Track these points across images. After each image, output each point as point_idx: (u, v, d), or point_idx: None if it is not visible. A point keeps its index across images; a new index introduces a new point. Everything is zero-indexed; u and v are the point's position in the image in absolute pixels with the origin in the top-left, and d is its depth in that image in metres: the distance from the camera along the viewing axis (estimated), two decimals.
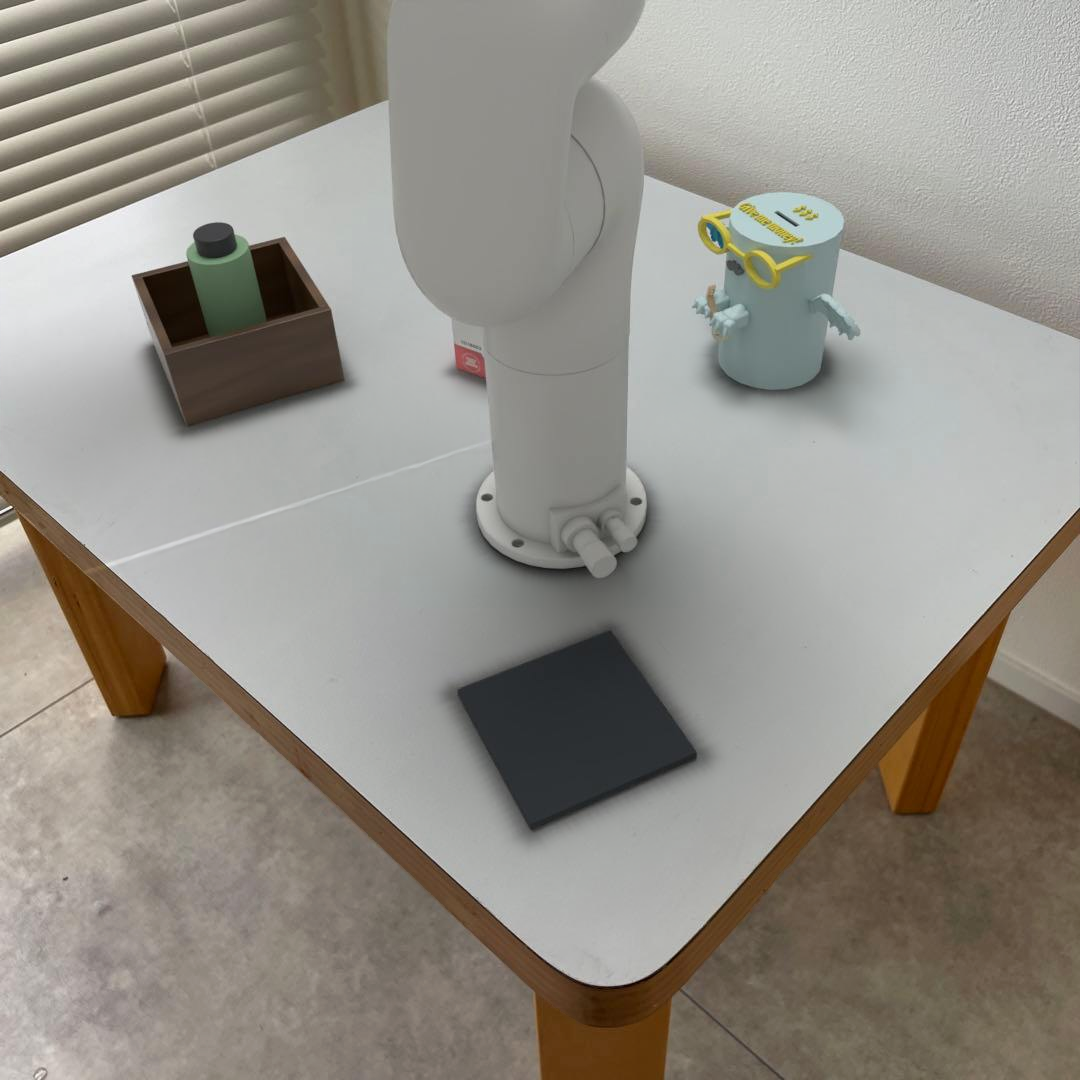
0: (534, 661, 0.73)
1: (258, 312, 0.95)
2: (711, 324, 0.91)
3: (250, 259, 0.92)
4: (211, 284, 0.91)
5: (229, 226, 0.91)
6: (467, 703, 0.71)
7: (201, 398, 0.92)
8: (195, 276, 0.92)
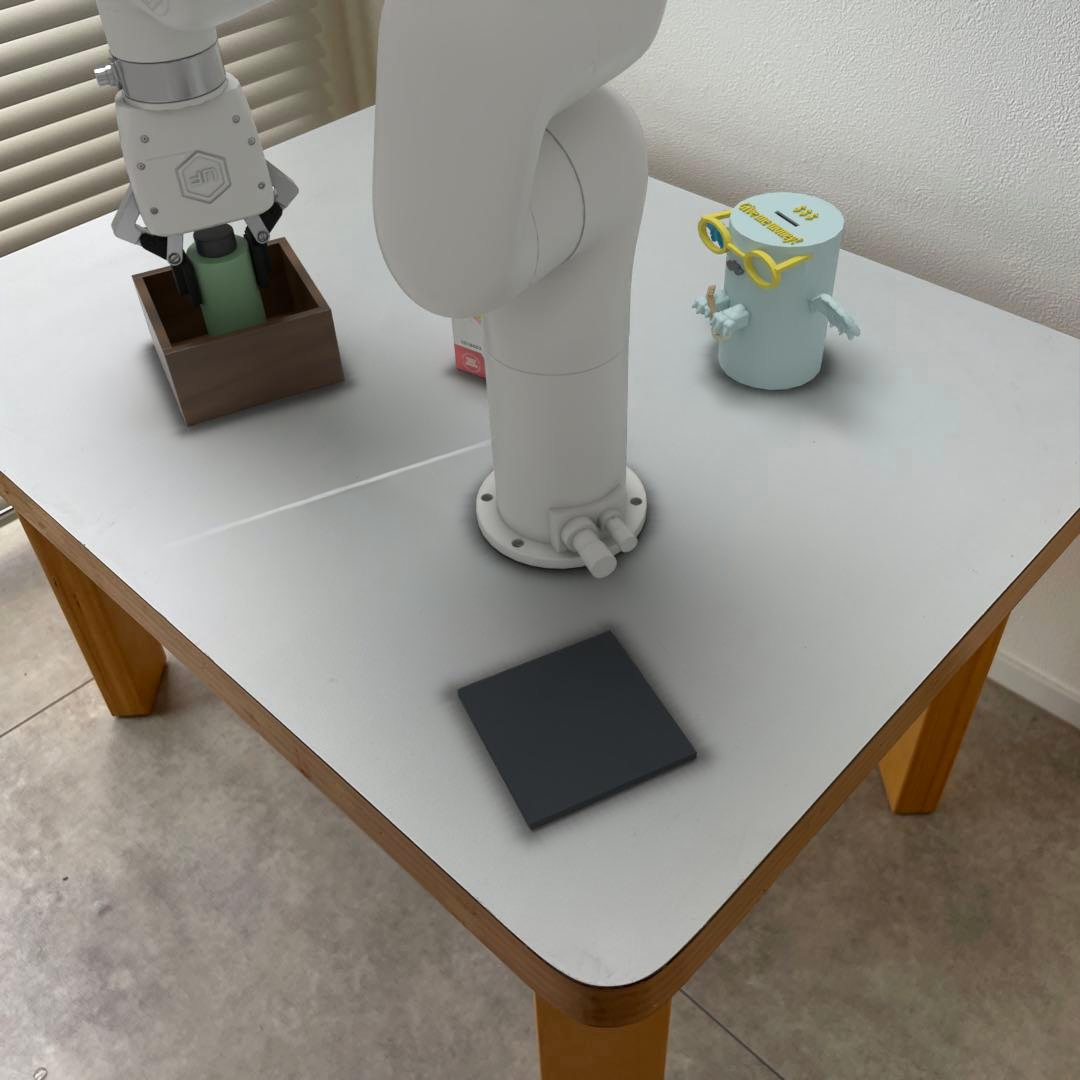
0: (534, 661, 0.73)
1: (258, 312, 0.95)
2: (711, 324, 0.91)
3: (250, 259, 0.92)
4: (211, 284, 0.91)
5: (229, 226, 0.91)
6: (467, 703, 0.71)
7: (201, 398, 0.92)
8: (195, 276, 0.92)
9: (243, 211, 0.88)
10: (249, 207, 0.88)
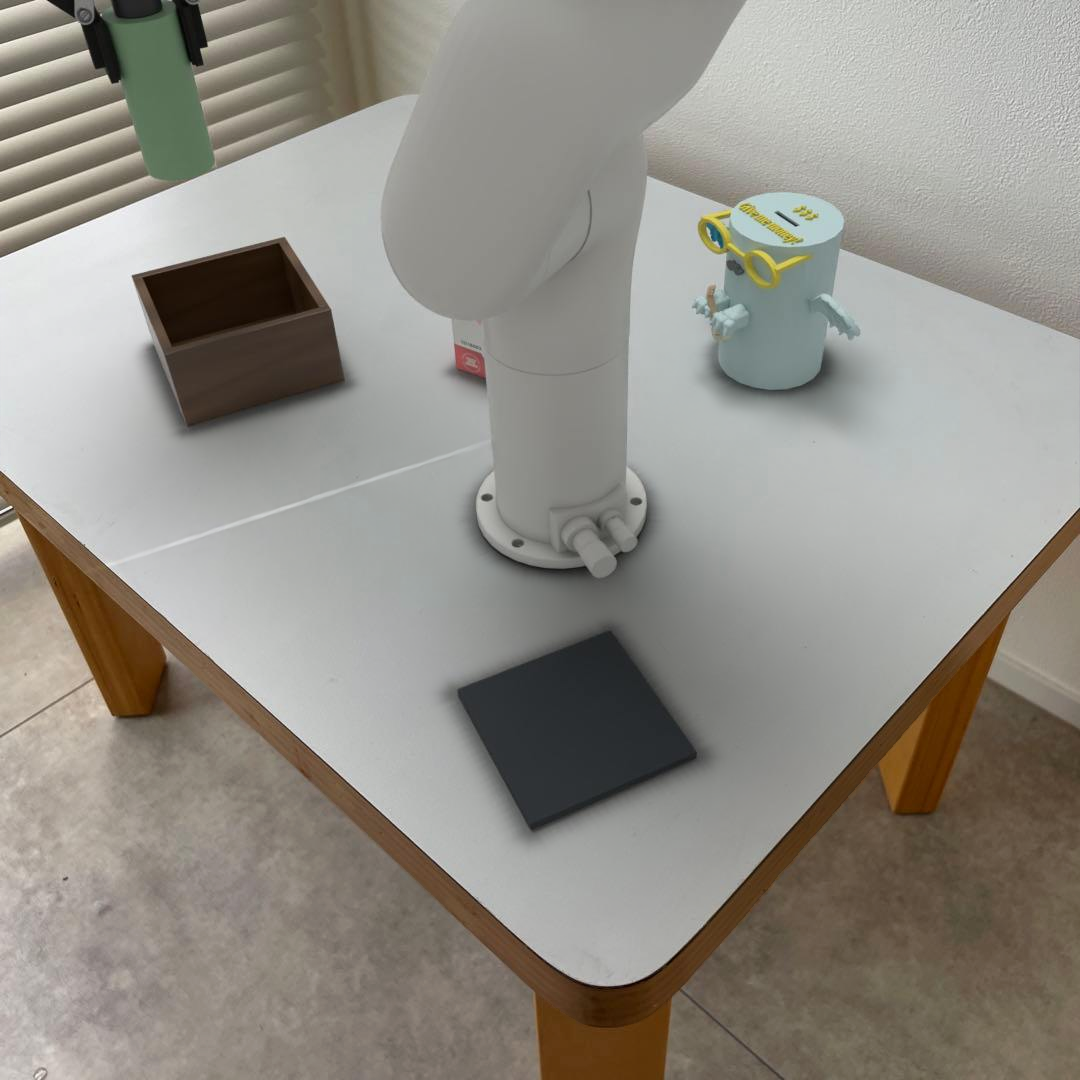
0: (534, 661, 0.73)
1: (191, 96, 0.80)
2: (711, 324, 0.91)
3: (178, 25, 0.77)
4: (131, 52, 0.76)
5: None
6: (467, 703, 0.71)
7: (201, 398, 0.92)
8: (112, 43, 0.77)
9: None
10: None
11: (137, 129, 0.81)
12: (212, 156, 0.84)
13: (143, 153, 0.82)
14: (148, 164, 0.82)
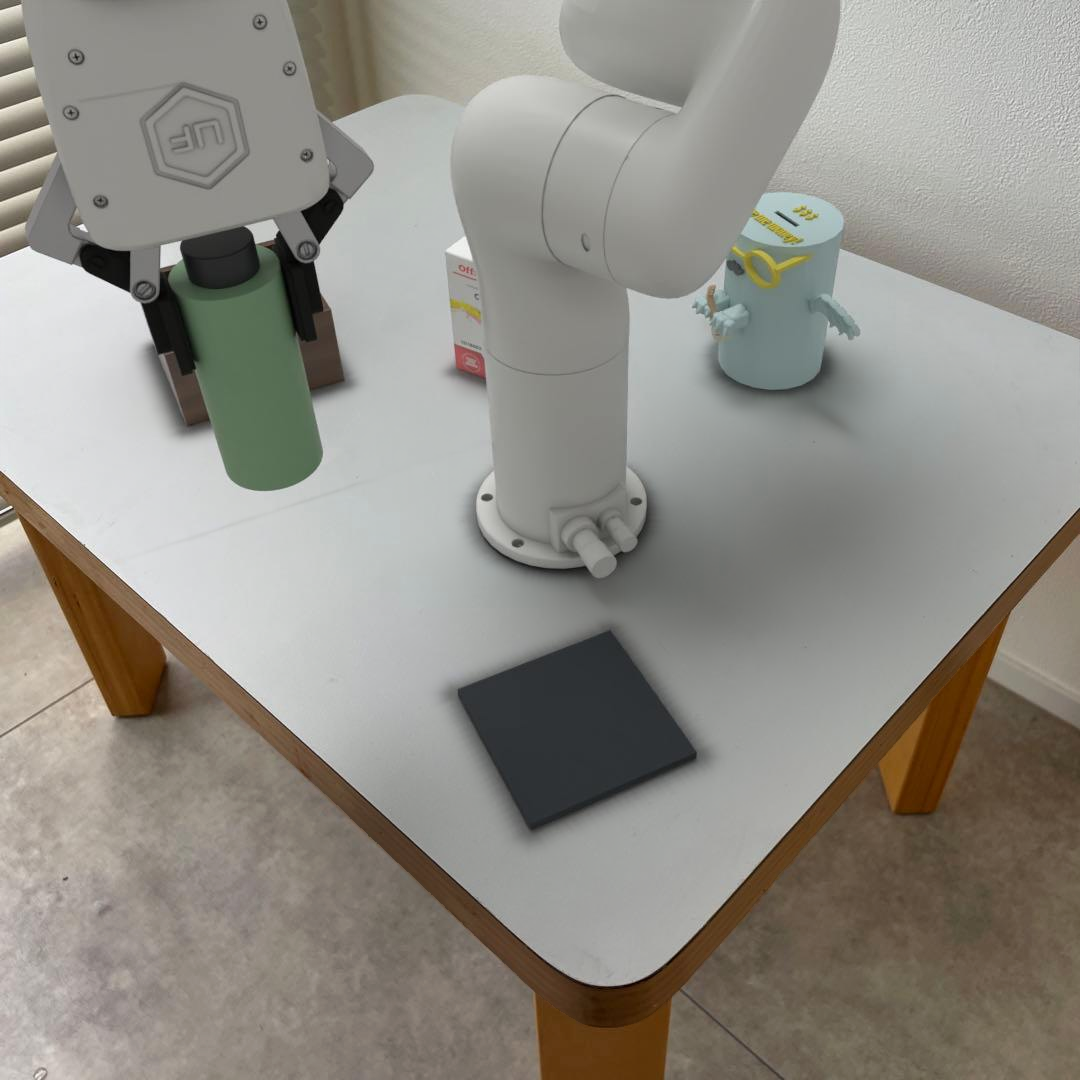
0: (534, 661, 0.73)
1: (297, 382, 0.54)
2: (711, 324, 0.91)
3: (283, 290, 0.51)
4: (212, 337, 0.50)
5: (246, 231, 0.50)
6: (467, 703, 0.71)
7: (201, 398, 0.92)
8: (184, 321, 0.51)
9: (272, 204, 0.47)
10: (283, 197, 0.47)
11: (215, 425, 0.55)
12: (320, 449, 0.58)
13: (222, 453, 0.56)
14: (229, 467, 0.56)
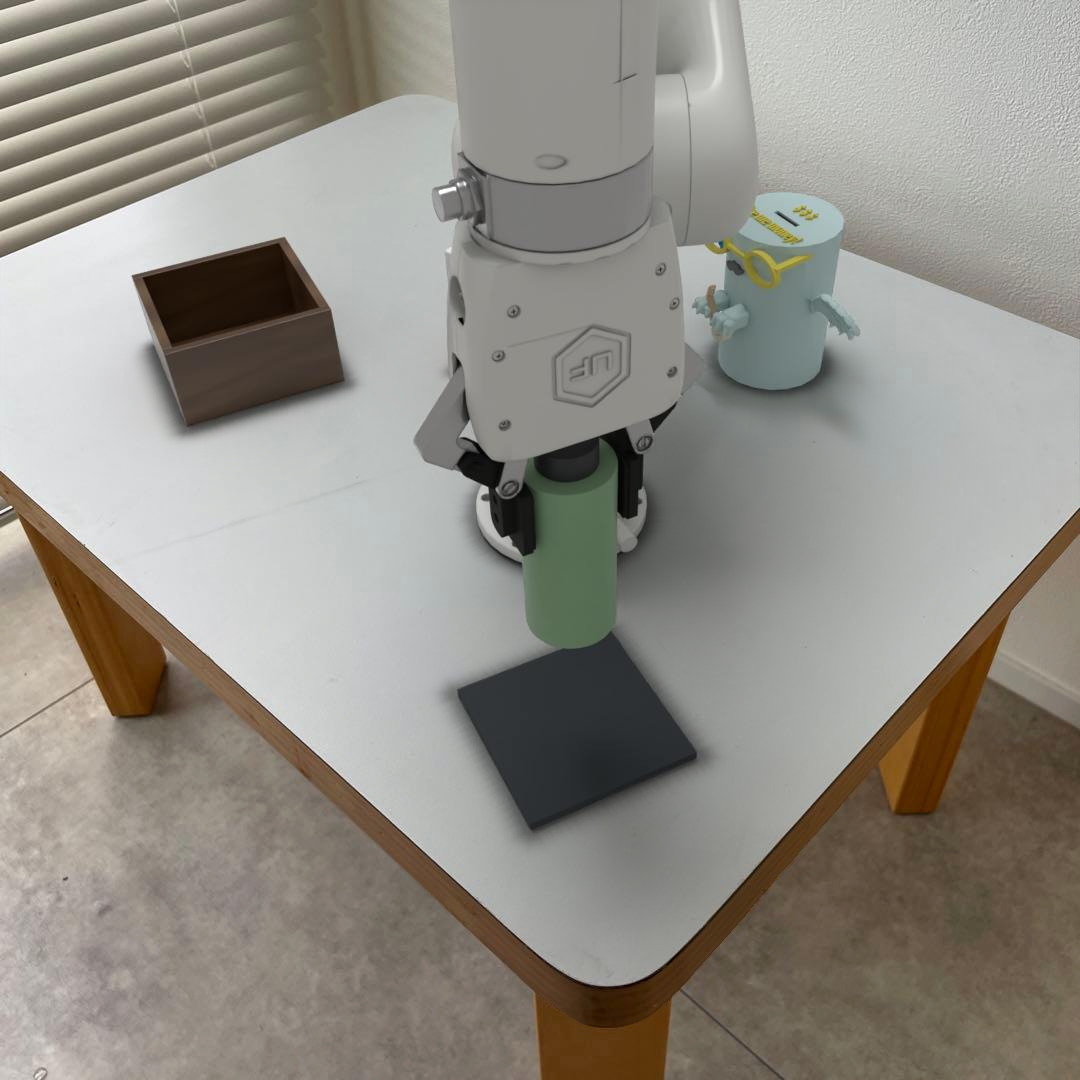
0: (534, 661, 0.73)
1: (615, 554, 0.59)
2: (711, 324, 0.91)
3: None
4: (560, 524, 0.55)
5: None
6: (467, 703, 0.71)
7: (201, 398, 0.92)
8: None
9: (637, 414, 0.52)
10: (647, 407, 0.52)
11: (535, 593, 0.59)
12: None
13: (534, 615, 0.61)
14: (539, 627, 0.61)
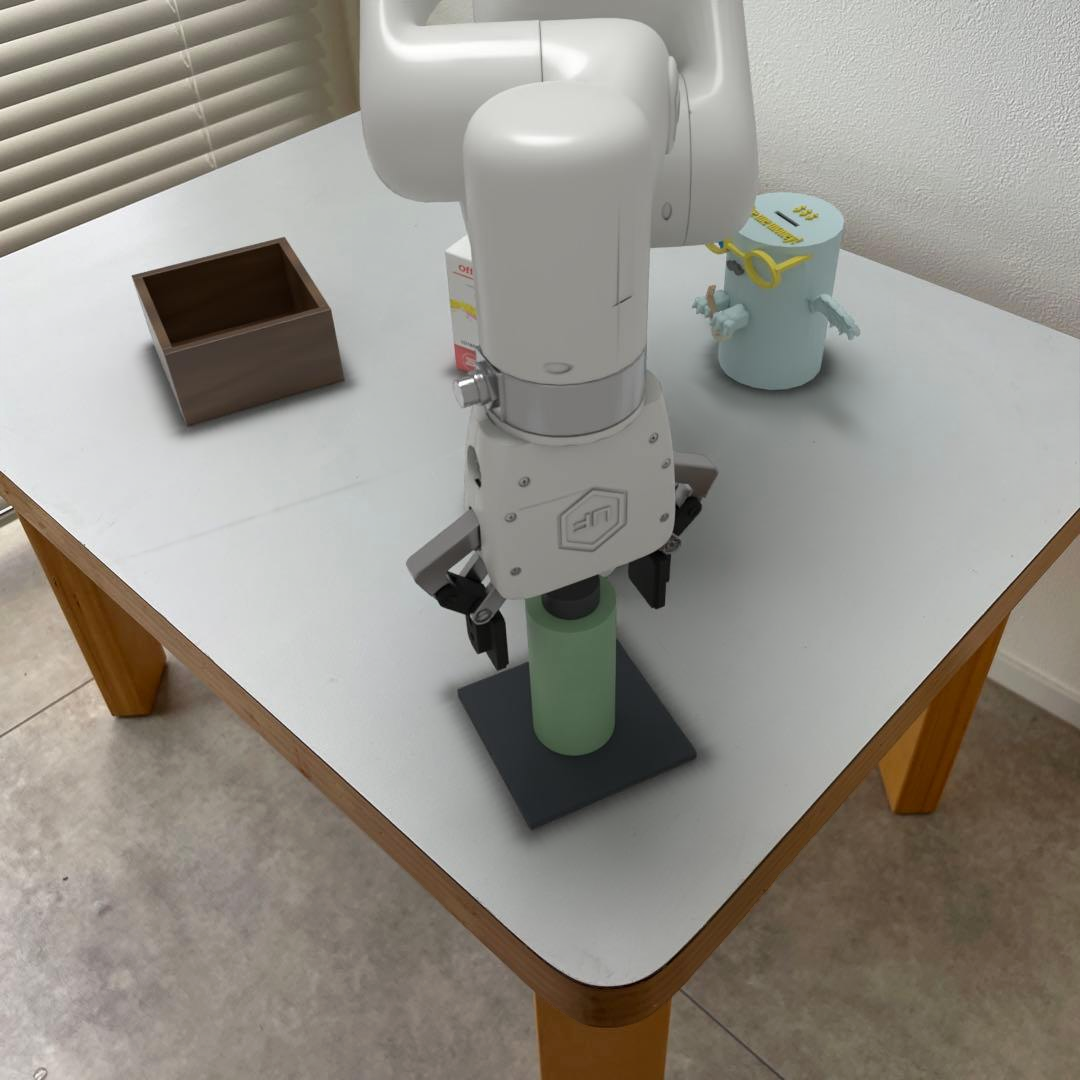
0: None
1: (613, 675, 0.65)
2: (711, 324, 0.91)
3: None
4: (565, 655, 0.61)
5: None
6: (467, 703, 0.71)
7: (201, 398, 0.92)
8: (539, 641, 0.62)
9: (633, 554, 0.58)
10: (642, 548, 0.58)
11: (541, 709, 0.66)
12: None
13: (541, 726, 0.67)
14: (545, 737, 0.68)
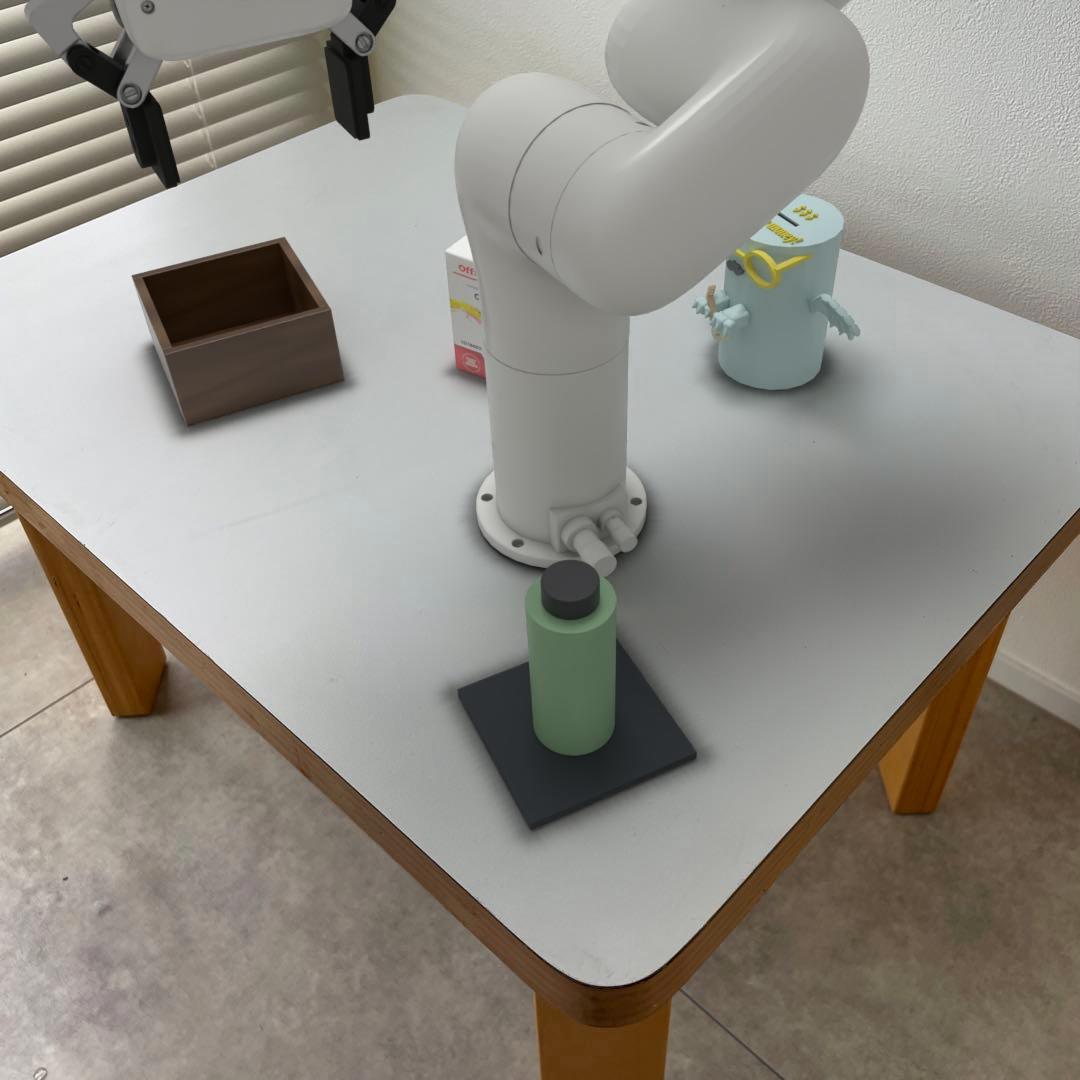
0: None
1: (613, 675, 0.65)
2: (711, 324, 0.91)
3: None
4: (565, 655, 0.61)
5: (591, 569, 0.61)
6: (467, 703, 0.71)
7: (201, 398, 0.92)
8: (539, 641, 0.62)
9: (302, 18, 0.50)
10: (312, 11, 0.50)
11: (541, 709, 0.66)
12: None
13: (541, 726, 0.67)
14: (545, 737, 0.68)
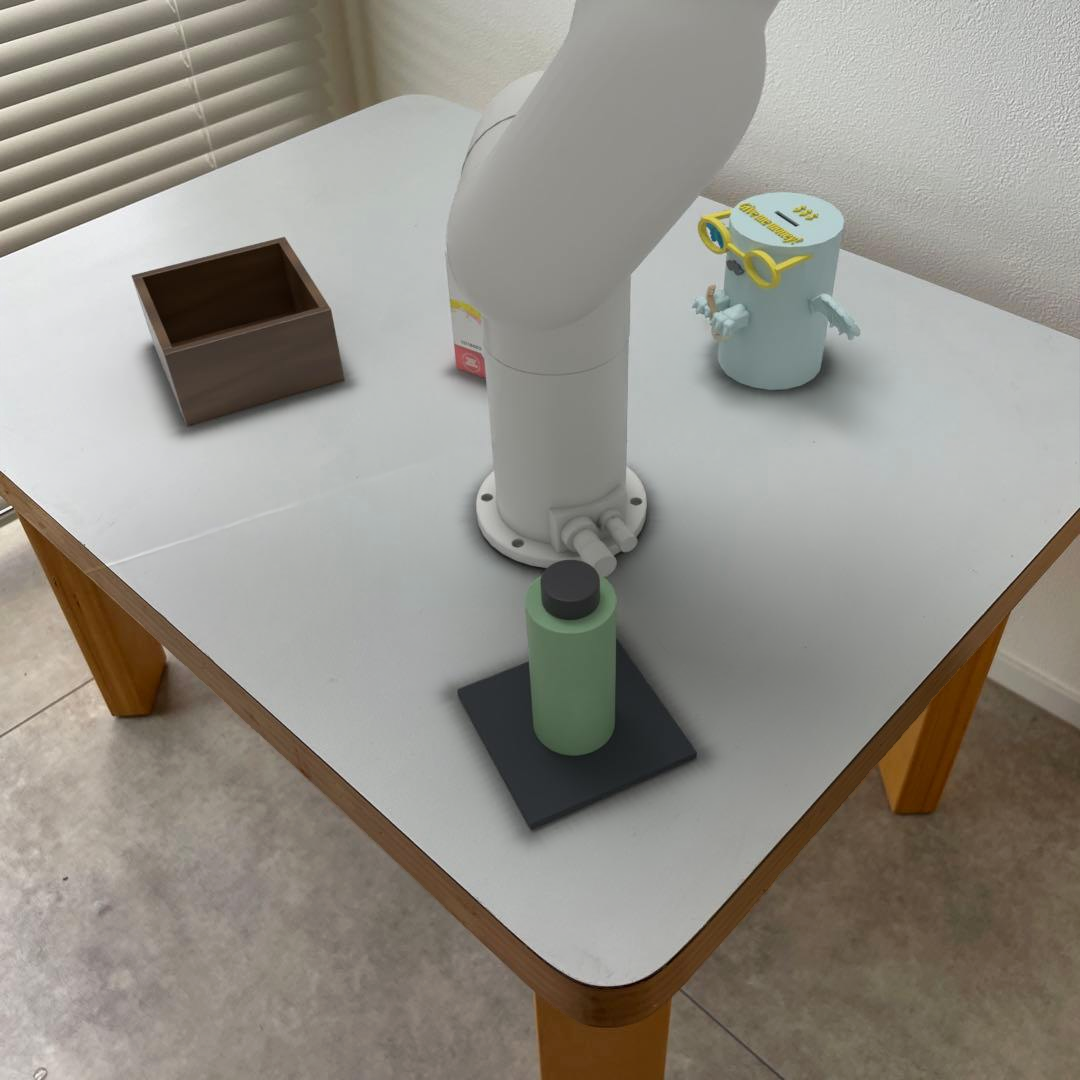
0: None
1: (613, 675, 0.65)
2: (711, 324, 0.91)
3: None
4: (565, 655, 0.61)
5: (591, 569, 0.61)
6: (467, 703, 0.71)
7: (201, 398, 0.92)
8: (539, 641, 0.62)
9: None
10: None
11: (541, 709, 0.66)
12: None
13: (541, 726, 0.67)
14: (545, 737, 0.68)
